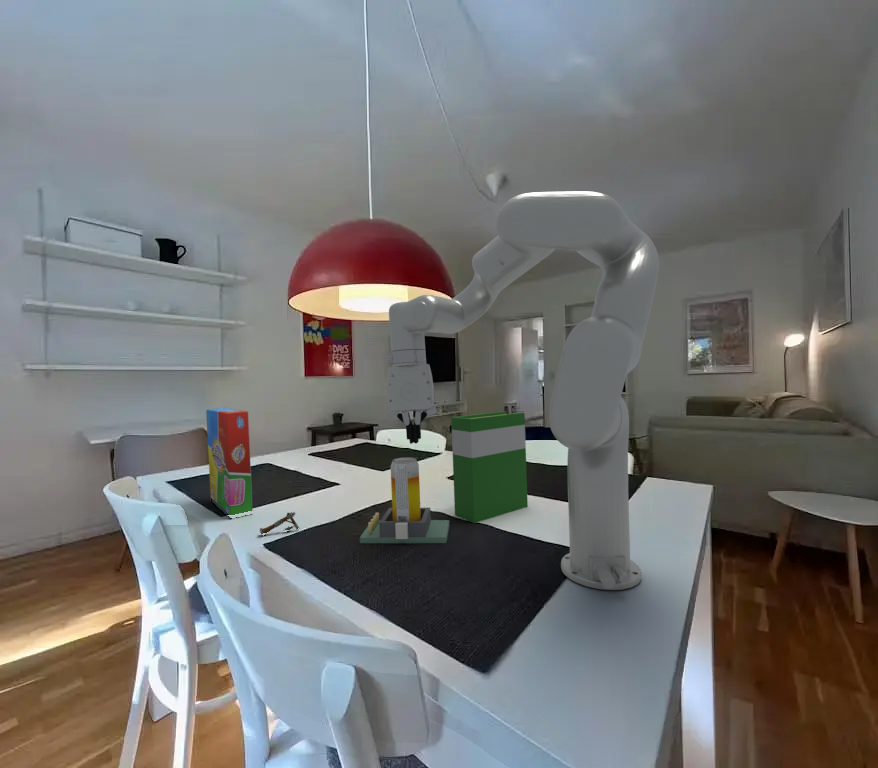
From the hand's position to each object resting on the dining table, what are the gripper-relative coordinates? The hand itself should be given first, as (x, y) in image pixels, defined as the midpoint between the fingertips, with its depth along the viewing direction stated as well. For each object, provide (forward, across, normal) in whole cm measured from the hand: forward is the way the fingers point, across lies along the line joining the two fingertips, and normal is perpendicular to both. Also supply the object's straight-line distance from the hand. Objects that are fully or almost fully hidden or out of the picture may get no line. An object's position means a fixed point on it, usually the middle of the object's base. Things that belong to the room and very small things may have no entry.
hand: (414, 442), depth 91 cm
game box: (+18, -54, +18) cm, 60 cm away
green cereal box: (+20, +16, +13) cm, 29 cm away
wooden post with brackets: (+19, -32, 0) cm, 38 cm away
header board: (+20, -3, -1) cm, 20 cm away
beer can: (+19, -3, -1) cm, 19 cm away
